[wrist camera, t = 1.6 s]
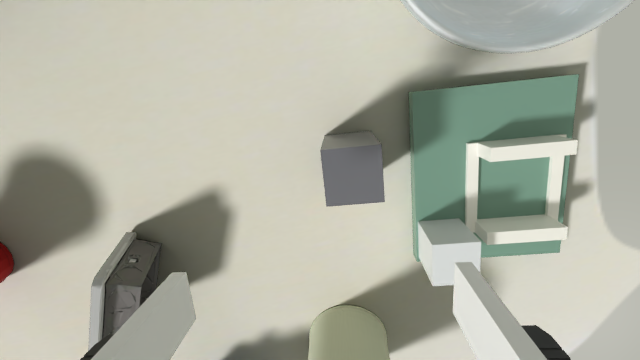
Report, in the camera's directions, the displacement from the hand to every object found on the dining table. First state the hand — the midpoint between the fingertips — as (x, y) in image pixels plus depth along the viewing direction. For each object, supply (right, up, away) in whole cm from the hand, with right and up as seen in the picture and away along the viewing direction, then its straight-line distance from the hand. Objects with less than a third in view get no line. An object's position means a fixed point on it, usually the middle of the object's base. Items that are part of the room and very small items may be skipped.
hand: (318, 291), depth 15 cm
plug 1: (+3, +8, +16) cm, 18 cm away
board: (+16, +6, +16) cm, 23 cm away
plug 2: (+12, 0, +16) cm, 20 cm away
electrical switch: (-20, -5, +21) cm, 29 cm away
